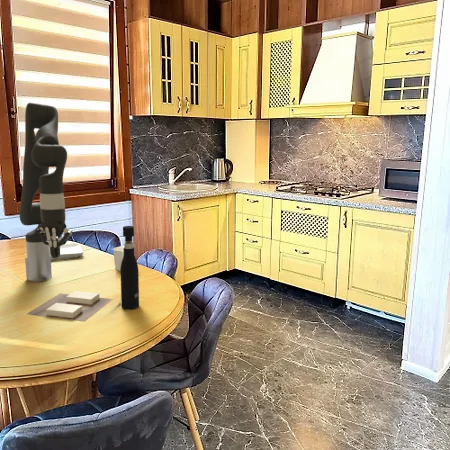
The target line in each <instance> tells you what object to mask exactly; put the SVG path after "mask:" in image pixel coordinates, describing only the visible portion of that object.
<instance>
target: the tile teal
mask: <svg viewBox="0 0 450 450" xmlns="http://www.w3.org/2000/svg"><path fill="white" fill-rule="evenodd" d="M100 298H101V297H100V293H98V292H89V291H88V292H86V291H78V290H74V291H73V292H71V293H70V295H68V296H66V302H73V303H82V304H93V303H94V302H95V301H97V300H98V299H100Z"/></svg>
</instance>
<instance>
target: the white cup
mask: <svg viewBox="0 0 450 450" xmlns="http://www.w3.org/2000/svg"><path fill="white" fill-rule="evenodd" d="M124 246H125V245H123V246H117V247H114V248H113V259H114V267H115V268H114V269H115V271H117V272H120V269H121V262H122V259H123V256H124V248H125V247H124Z"/></svg>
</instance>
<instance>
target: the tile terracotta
mask: <svg viewBox="0 0 450 450" xmlns="http://www.w3.org/2000/svg"><path fill="white" fill-rule="evenodd" d="M81 312H82V306H80V305H71V304H63V303H55V304H54V305H52V306H51V307H49V308H47V309H46V315H51V316H59V317H67V318H74V317H75V316H77V315H78V314H79V313H81Z"/></svg>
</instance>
